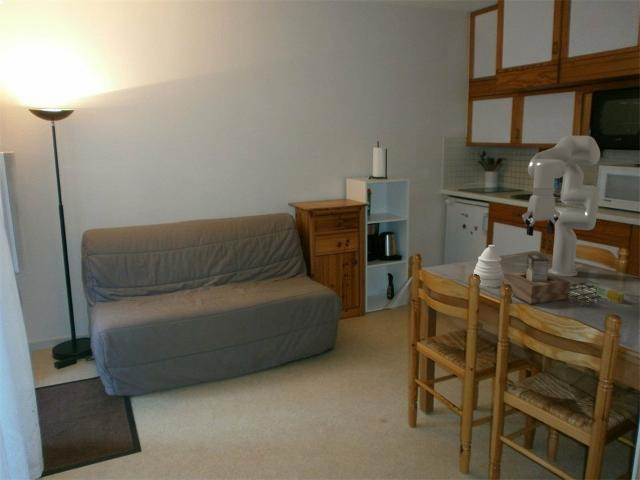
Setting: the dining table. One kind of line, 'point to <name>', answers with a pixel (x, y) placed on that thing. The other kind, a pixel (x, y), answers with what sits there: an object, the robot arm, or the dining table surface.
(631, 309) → the dining table surface
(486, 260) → the honey pot
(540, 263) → the coffee box
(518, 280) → the well block
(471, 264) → the dining table surface
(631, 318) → the dining table surface
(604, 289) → the medication box
